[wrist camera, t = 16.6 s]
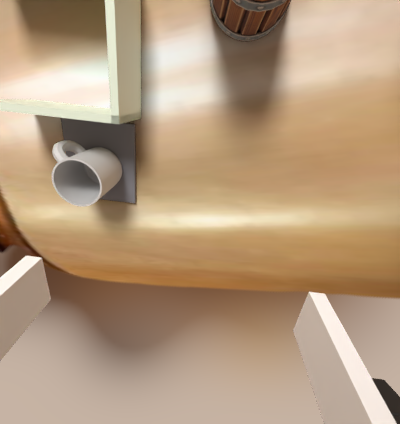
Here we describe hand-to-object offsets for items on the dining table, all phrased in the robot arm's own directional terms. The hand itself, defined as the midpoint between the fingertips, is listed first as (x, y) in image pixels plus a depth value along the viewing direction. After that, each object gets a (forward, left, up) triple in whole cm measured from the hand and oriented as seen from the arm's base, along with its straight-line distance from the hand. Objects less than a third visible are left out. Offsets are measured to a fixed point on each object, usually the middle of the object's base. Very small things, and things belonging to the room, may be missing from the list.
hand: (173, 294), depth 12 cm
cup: (+3, -18, -32) cm, 37 cm away
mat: (+3, -18, -32) cm, 37 cm away
